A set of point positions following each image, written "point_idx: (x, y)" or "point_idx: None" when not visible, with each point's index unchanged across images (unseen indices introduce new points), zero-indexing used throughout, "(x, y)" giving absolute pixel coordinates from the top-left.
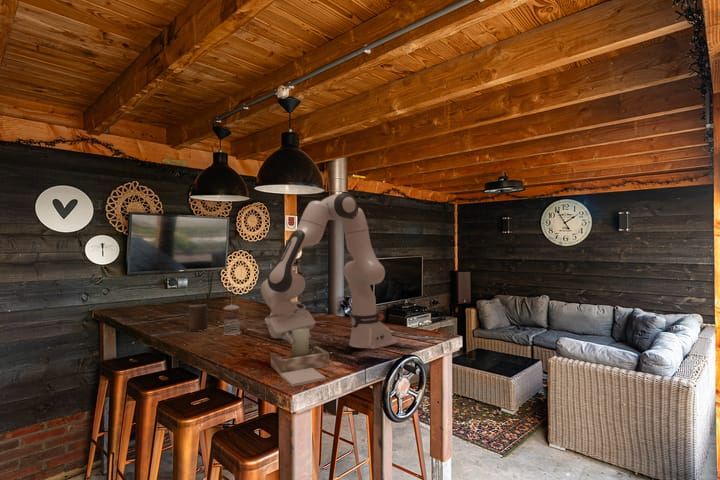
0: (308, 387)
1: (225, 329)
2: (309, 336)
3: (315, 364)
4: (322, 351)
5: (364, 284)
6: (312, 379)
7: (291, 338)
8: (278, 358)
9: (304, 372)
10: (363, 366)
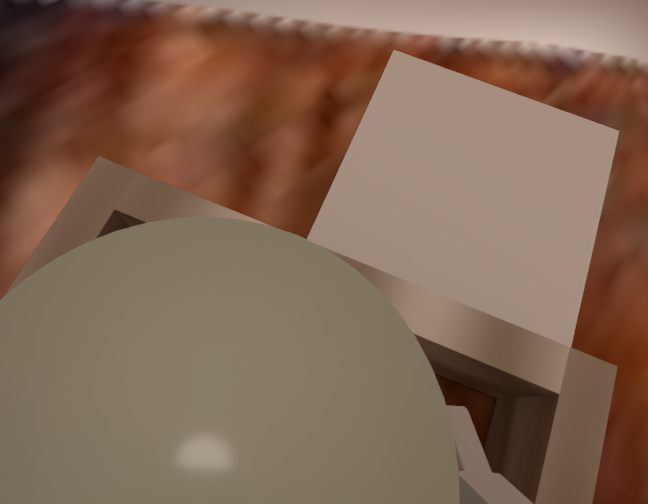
0: (538, 69)
1: None
2: None
3: None
4: None
5: None
6: (478, 85)
7: (474, 458)
8: (581, 479)
9: (422, 216)
10: (31, 25)
